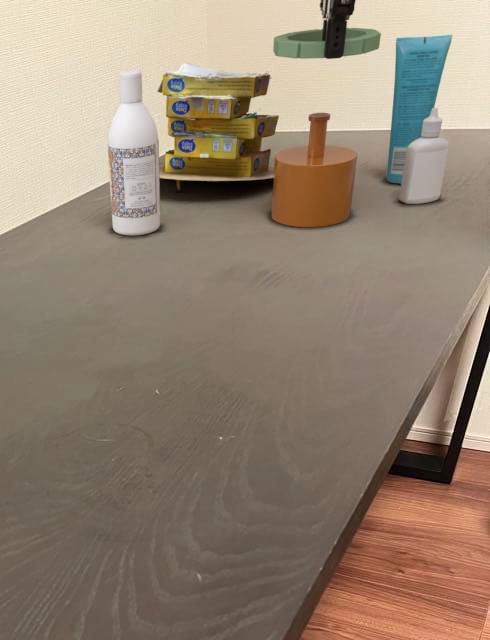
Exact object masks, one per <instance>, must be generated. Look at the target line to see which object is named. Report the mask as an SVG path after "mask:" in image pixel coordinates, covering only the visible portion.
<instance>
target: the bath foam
mask: <svg viewBox="0 0 490 640" xmlns="http://www.w3.org/2000/svg"><path fill="white" fill-rule="evenodd" d="M142 75H143V73H142V70H139V69H129V70H123V71H120V72H119V74H118V78H119V98H120V103H119V106H118V108H117V110H116V113H115V114H114V116H113V119H112V121H111V123H110V126H109V130H108V136H107V155H108V173H109V189H110V205H111V206H110V207H111V208H110V209H111V218H112V219H111V222H112V230H113V231H114V232H115V233H117V234H119V235H123V236H143V235H147V234H151V233H153V232H156V231H157V230H158V229H159V228H160V226H161V188H160V186H161V185H160V182H161V181H160V178H159V165H160V143H159V142H160V140H159V134H158V133H159V132H158V129H157V125H156V123H155V119H154V118H153V116H152V115H151V114H150V112H149V110H148V108H147V107H146V105H145V104H144V101H143V76H142Z"/></svg>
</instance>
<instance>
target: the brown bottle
mask: <svg viewBox="0 0 490 640" xmlns="http://www.w3.org/2000/svg"><path fill="white" fill-rule="evenodd" d="M330 120H331V113H330V112H329V113H328V112H313V113H310V114H309V115H308V122H310V124H309V135H308V145H306V146H305V145H304V146H298V147H292V148H287V149H284V150H281V151H279V152H278V153H276V154H275V156H274V165H273V166H274V167H273V168H274V178H272V179H273V180H272V181H273V182H272V195H271V196H272V197H271V210H270V211H271V212H270V213H271V214H270V217H271V219H272V220H273V221H275V222H276V223H278V224H281V225H285V226H289V227H297V228H320V227H329V226H332V225H333V226H334V225H337V224H340V223H343V222H345V221H347V220H348V219H349V218H350V216H351V211H352V202H353V193H354V186H355V176H356V170H357V162H358V152H357V151H356V150H354V149H352V148H349V147H345V146H344V147H343V146H336V145H326V139H327V129H328V121H330Z"/></svg>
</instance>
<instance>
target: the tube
mask: <svg viewBox="0 0 490 640" xmlns="http://www.w3.org/2000/svg"><path fill="white" fill-rule="evenodd" d="M452 39H453V34H444V35H432V36H412V37H411V36H404V37H396V39H395V65H394V66H395V67H394V83H393V85H394V87H393V98H392V99H393V100H392V111H391V123H390V137H389V145H388V147H389V148H388V158H387V166H386V167H387V168H386V178H385V179H386V182H388V183H392V184H399V185H401V182H402V176H403V170H404V164H405V158H406V152H407V148H408V146H409V145H410V144H411V143H412V142H413V141H415V140H417V139H419V138H421V137H422V136H421V132H422V126H423V120H424V119H426V118H428V117H429V116H430V113H431V110H432V108H435V107H436V101H437V98H438V93H439V89H440V85H441V81H442V76H443V73H444V69H445V65H446V61H447V57H448V54H449V50H450V48H451V43H452Z"/></svg>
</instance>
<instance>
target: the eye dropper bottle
mask: <svg viewBox="0 0 490 640" xmlns="http://www.w3.org/2000/svg"><path fill="white" fill-rule="evenodd" d="M442 124H443V118H440V117H439V111H438V107H434V108H432V110H431V113H430V116H429V117H428V118H426V119H424V120H423V126H422V132H421V136H422V137H421V138H419V139H417V140H415V141H413V142H412V143H411V144H410V145H409V146H408V148H407V152H406V158H405V164H404V170H403V176H402V182H401V184H400V187H399V188H400V189H399V195H398V200H399V201H400V202H401V203H403V204H406V205H419V204H420V205H421V204H427V203H428V204H429V203H431V202H435V201H438V200H439V199H440V197H441V193H442V189H443V184H444V178H445V172H446V167H447V163H448V162H447V161H448V155H449V149H450V142H449V141H448V140H447V139H445V138H443V137H440V136H441V135H440V134H441V129H442Z"/></svg>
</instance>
